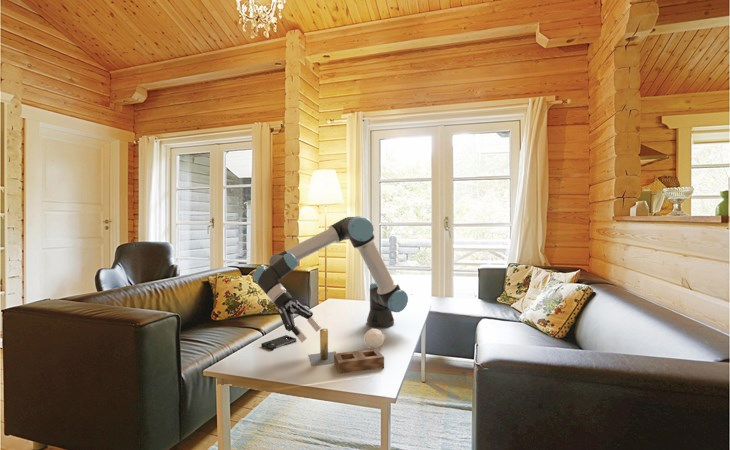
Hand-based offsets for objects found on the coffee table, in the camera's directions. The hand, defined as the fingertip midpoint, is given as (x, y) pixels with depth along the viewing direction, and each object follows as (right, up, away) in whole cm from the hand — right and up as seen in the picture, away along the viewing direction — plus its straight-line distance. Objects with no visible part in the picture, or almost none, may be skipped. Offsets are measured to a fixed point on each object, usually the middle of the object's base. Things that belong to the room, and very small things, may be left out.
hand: (312, 334), depth 142 cm
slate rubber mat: (+5, -10, -1) cm, 11 cm away
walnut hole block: (+20, -10, -8) cm, 23 cm away
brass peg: (+5, -10, -1) cm, 11 cm away
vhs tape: (-18, -11, +17) cm, 27 cm away
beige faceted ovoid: (+27, -10, +12) cm, 32 cm away
